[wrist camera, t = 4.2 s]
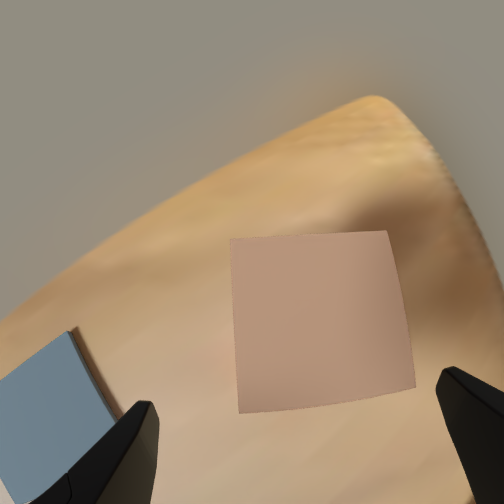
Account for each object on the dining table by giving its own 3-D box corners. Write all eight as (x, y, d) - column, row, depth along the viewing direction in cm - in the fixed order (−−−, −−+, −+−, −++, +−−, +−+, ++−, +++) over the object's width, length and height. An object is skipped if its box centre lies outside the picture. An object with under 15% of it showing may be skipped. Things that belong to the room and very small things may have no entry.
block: (312, 390, 17) (416, 387, 5) (250, 396, 17) (239, 413, 5) (306, 331, 18) (386, 230, 7) (246, 336, 18) (230, 238, 7)
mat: (71, 332, 18) (66, 330, 18) (137, 449, 15) (133, 451, 15) (-27, 406, 15) (-31, 405, 14) (20, 504, 12) (16, 505, 11)
